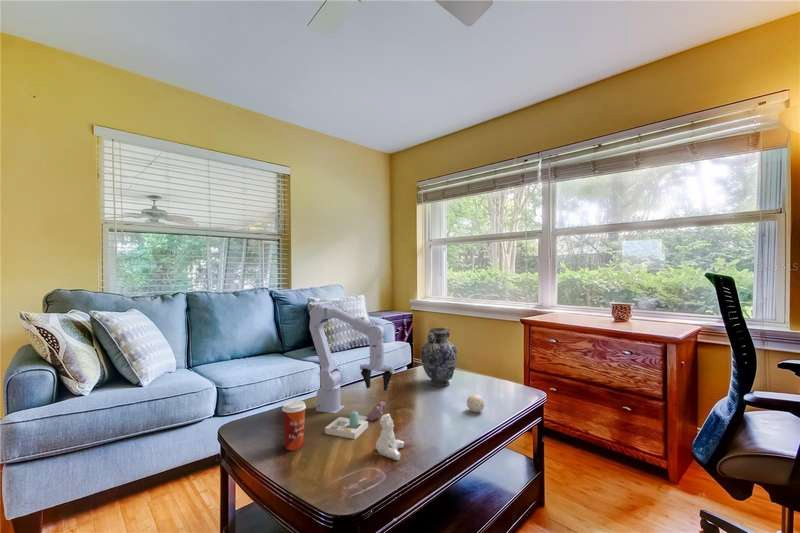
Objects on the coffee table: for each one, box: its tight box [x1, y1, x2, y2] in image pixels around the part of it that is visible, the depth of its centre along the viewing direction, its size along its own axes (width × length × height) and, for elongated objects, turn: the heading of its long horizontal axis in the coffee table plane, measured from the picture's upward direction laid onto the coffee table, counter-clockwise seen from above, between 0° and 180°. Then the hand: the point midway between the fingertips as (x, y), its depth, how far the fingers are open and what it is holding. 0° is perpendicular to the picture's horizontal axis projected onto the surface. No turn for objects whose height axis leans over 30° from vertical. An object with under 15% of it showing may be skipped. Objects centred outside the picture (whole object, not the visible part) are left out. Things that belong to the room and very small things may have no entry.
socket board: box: [324, 416, 369, 440], centre depth 127 cm, size 12×10×3 cm
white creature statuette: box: [375, 413, 405, 461], centre depth 112 cm, size 10×9×12 cm
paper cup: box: [281, 399, 307, 451], centre depth 116 cm, size 8×8×14 cm
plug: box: [348, 410, 359, 429], centre depth 126 cm, size 3×3×7 cm
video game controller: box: [366, 400, 387, 422], centre depth 139 cm, size 10×5×7 cm, turn 168°
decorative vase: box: [420, 327, 458, 388], centre depth 180 cm, size 21×19×28 cm
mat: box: [358, 414, 368, 421], centre depth 136 cm, size 7×7×1 cm
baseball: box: [466, 394, 485, 413], centre depth 143 cm, size 7×7×7 cm
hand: (376, 388), depth 142 cm, fingers open, 7 cm apart
